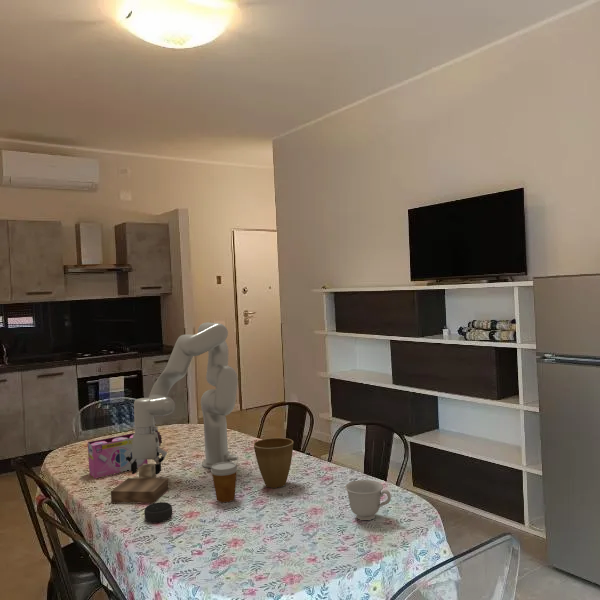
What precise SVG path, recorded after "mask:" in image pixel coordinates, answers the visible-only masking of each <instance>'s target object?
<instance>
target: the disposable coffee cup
mask: <svg viewBox="0 0 600 600" xmlns="http://www.w3.org/2000/svg"><path fill="white" fill-rule="evenodd" d="M238 469H239V467H238V466H237V463H235V462H233V461H232V462H221V463H217V464H214V465H213V466H212V468H210V473H211V475H212V480H213V487H214V491H215V498H216V501H217V503H229V502H233V501H235V498H236V497H235V496H236V483H237V473H238Z"/></svg>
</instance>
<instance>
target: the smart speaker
mask: <svg viewBox="0 0 600 600" xmlns="http://www.w3.org/2000/svg"><path fill="white" fill-rule="evenodd" d="M172 516H173V505H172V504H171V503H168V502H165V501H164V502H163V501H162V502H160V501H159V502H154V503H149V505H147V506H146V507H144V520H145V521H147V522H148V523H154V524H155V523H157V524H158V523H162V522H165V521H168V520H169V519H171V518H172Z"/></svg>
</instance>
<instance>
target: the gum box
mask: <svg viewBox="0 0 600 600" xmlns="http://www.w3.org/2000/svg"><path fill="white" fill-rule="evenodd" d="M134 433H135V432H131V433H128V434H122V435H119V436H118V435H117V436H113V437H107V438H102V439H96V440H91V441H87V455H88V456H87V457H88V470H89V473H88V474H89V475H90V476H91V477H92V476H93V477H92V478H94V479H98V478H101V477H102V476H103V477H107V476H106V475H108V476H111V475H110V474H112V475H115V474H114V473H117V474H119V472H121V473H124V472H123V471H125V472H128V471H127V470H129V471H131V464H130V462H129V461H128V460H127V458H126V456H125V454H124V452H126V451H127V450H129V449H131V448H132V440H133V435H134ZM129 454H130V456H131V457H132V452H130V453H129ZM136 462H137V468H138V469H139V467H140V466H142V465H143V464H149V463H148V460H144V459H137V460H136ZM103 477H102V478H103Z"/></svg>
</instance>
